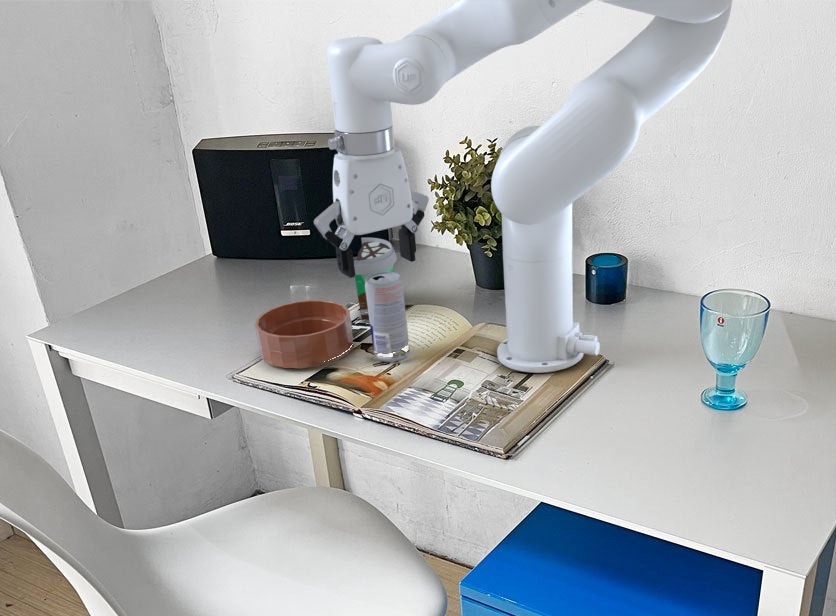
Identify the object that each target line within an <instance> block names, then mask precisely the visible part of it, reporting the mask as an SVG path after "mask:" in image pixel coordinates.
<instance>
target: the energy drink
mask: <svg viewBox="0 0 836 616" xmlns="http://www.w3.org/2000/svg"><path fill="white" fill-rule="evenodd" d="M365 291H366V298H367V306H368V314H369V319H368V320H369V327H370V335H371V336H370V337H371V343H372V344H371V345H372V352H373V356H374V358H375V359H376V360H378V361H380V362H383V363H394V362H395V363H396V362H399V361H402V360H403V361H404V360H405V359H406V358H407V357H408V356H409V355H410V352H411V349H410V347H409V350H408V351H407V352H406V353H404V354H401V355H398V356H393V357H383V356H378V355H376V354H375V353H374V351H376V352H378V353H382V354H389V353H393V352H396V351H399V350H400V349H402V348H404V347H405V346H407V345H408V342H409V343H410V341H409V331H408V322H407V311H406V302H405V295H404V285H403V281H402V278H401V275H400V274H399V273H397V272H394V271H393V272H379V273H374V274H371V275H369V276H368V277H367V278H366V283H365ZM373 350H374V351H373Z"/></svg>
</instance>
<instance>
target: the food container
mask: <svg viewBox="0 0 836 616" xmlns="http://www.w3.org/2000/svg"><path fill="white" fill-rule="evenodd" d="M397 259H398V257H397V254H396V251H395V249H394V247H393V245H392V243H391V242H390V241H388V240H386V239H383V238H378V237H361V247H360V250H359V251H357V256H356V260H354V267H355V276H354V280H355V287H356V293H357V300H358V307H359V313H360V318H361V320H369V314H368V313H365V312H368V306H367V298H366V291H365V283H366V278H367V277H368V276H369V275H371V274H374V273H379V272H394V264H395V263H396V262H397ZM361 313H362V314H361Z"/></svg>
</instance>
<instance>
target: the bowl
mask: <svg viewBox="0 0 836 616" xmlns="http://www.w3.org/2000/svg"><path fill="white" fill-rule="evenodd" d="M351 317H352V316H351V311H350V309H349V308H348V307H347V306H346V305H345V304H343V303H339V302H337V301H331V300H326V299H306V300H297V301H292V302H288V303H283V304H280V305H278V306H275V307H271V308H269V309H268V310H266V311H264V312H263V313H261V314H259V316H258V317H257V318H255V322H254V329H255V335H256V339H257V344H258V350H259V354H260V357H261V358H262V360H263V361H264V362H265V363H267V364H269V365H271V366H273V367H278V368H284V369H304V368H305V369H306V368H314V367H318V366H322V365H326V364H330V363H332V362H335V361H337V360H339V359H342V358H343V357H345V356H346V355H348V354H349V353H351V352H352V350H353V348H354V347H355V343H354V344H353V339H354V333H353V325H352V319H351ZM354 340H355V339H354ZM352 344H353V345H352ZM351 345H352V347H351V348H350V346H351ZM349 348H350V350H348V349H349ZM346 350H348V351H347V352H345V351H346ZM343 352H345V353H344V354H342V353H343ZM341 354H342V355H341ZM339 355H341V356H339ZM337 356H339V357H337ZM334 357H336V358H334ZM332 358H334V359H332ZM330 359H331V360H330ZM328 360H329V361H328ZM324 361H325V362H324Z"/></svg>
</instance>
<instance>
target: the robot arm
mask: <svg viewBox="0 0 836 616" xmlns="http://www.w3.org/2000/svg"><path fill="white" fill-rule="evenodd" d="M593 1H594V0H458V1H455V3H453V4H451V5H450V6H448V7H447V8H445V9H444V10H442V11H441V12H440V13H438V14H436V15H435V16H433V17H432V18H430V19H428V20H427V21H425V22H424V23H423V24H421V25H419V26H418V27H416V28H415V29H413V30H412V31H411V32H409V33H407V34H406V35H405V36H404V37H402V38H401V39H399V40H396V41H395V42H388V43H387V42H386V43H384V42H382V41H381V40H380V39H378V38H375V37H368V36H355V37H353V36H352V37H345V38H339V39H337V40H334V41H332V42H330V43H329V45H328V47H327V50H326V60H327V61H326V62H327V70H328V71H327V72H328V80H329V87H330V96H331V97H330V98H331V104H332V111H333V119H334V121H333V122H334V127H335V128H334V131H333V132H334V136H333V137H332V138H328V139H327V147H328V148H329V150H330V151H331V150H336V152H337V153H335V154H334V157H333V166H332V200H333V202H332V204H331V205H329V206H328V207H327V208H326V209H325V210H323V211H322V212H321V213H320V214H319V215H318V216H316V217H315V218H314V220H313V225H314V226H315V227H316V229H317V230H318V232H319V233H320V234H321V237H322V238H323V239H324V240H326V241H327V242H329V243H330V244H331V245H332V246H334V247H335V253H336V255H335V256H336V262H337V268H338V270H339V271H340V272H341V274H343V275H344V276H347V277H348V278H350V279H352V278H355V267H354V261H355V258H354V252H353V249H352V248H350V245H351V243H352V241H353V239H354V238H355V236H362V235H368V234H371V233H375V232H379V231H385V230H388V229H392V228H396V227H400V228H399V229H398V231H397V234H398V244H399V255H400V257H401V258H403V259H404V260H406V261H409V262H411V263H413V262H415V261H416V252H417V242H416V234H417V232H418V231H419V225H420V223H421V222H422V221H423V219H424V217H425V211H426V210H427V207H428V204H429V200H430V197H429V196H428V195H425V194H423V193H422V192H418V191H415V190H412V189H411V186H410V179H409V175H408V170H407V166H406V164H405V163H406V162H405V159H404V156H403V152H402V149H401V148H400V147H398V146H395V137H394V136H395V134H394V125H393V114H392V113H393V112H392V103H395V104H400V105H409V106H410V105H411V106H417V105H423V104H424V103H427V102H429V101H431V100H432V99H433V98H434V97H435V96H436V95H437V94H438V93H439V91H441V89H442V87H443V86H444V85H445V84H447V82H449V81H451V80H452V79H453V78H454V77H456V76H458V75H459V74H461V73H462V72H465V71H466V70H467V69H469V68H470V67H472V66H474V65H475V64H477V63H478V62H480V61H482V60H483V59H484V58H486V57H488V56H490V55H492V54H494V53H496V52H497V51H500V50H502V49H504V48H507V47H511V46H518V45H521V44H524V43H526V42H528V41H530V40H532V39H534V38H536V37H537V36H539V35H540V34H542V33H543V32H545V31H546V30H548V29H549V28H552V27H553V26H554V25H556V24H557V23H559V22H560V21H562V20H564V19H565V18H567V17H569V16H570V15H572V14H574V13H575V12H577V11H578V10H580V9H582V8H583V7H585V6H587V5H588V4H590V3H591V2H593ZM598 1H599V2H603V3H605V4H608V5H612V6H616V7H618V8H621V9H622V8H623V9H625V10H626V9H627V10H630V11H635V12H640V13H643V14H646V15H651V16H653V19H652V20H651V21H650V22H649V23H648V24H647V26H646V27H645V28H644V29H642V30H641V31H640V32H639V33H638V34H637V35H636V36H635V37H633V38H632V39H631V40H630V42H628V43H627V44H626V45H625V46H624V47H623V48H622V49H621V50H619V51H618V52H617V53H615V54H614V55H613V56H612V57H611V58H610V59H609V60H607V61H606V62H605V63H604V64H602V65H600V67H599V68H597V69H596V70H594V72H592V73H590V74H589V75H588V76H587V77H585V78H584V79H582V80H581V81H580V82H578V83H577V84H576V85H575V86H574V87H573V88H572V90H571V91H570V92H569V95H568V97H567V98H566V101H565V104H564V105H563V106H562V107H561V108H560V109H558V110H557V112H555V113H554V114H553V115H552V116H551V117H549V118H548V119H547V120H546V121H545V122H544V123H542V124H541V125H530V126H526V127H523V128H521V129H520V130H517V132H515V133H514V134H512V135H511V136H510V137H509V138H508V140H507V141H506V142H505V144H504V145H503V147H502V149H501V151H500V153H499V156H498V158H497V160H496V163H495V166H494V169H493V172H492V175H491V181H490V188H491V189H490V191H491V196H492V200H493V202H494V205H495V207H496V208H497V210H498V211H499V212H500V214H501V236H502V237H501V238H502V240H501V241H502V265H503V266H502V267H503V283H504V285H503V287H504V305H505V325H506V327H505V328H506V338H505V339H504V340H502V341H501V342H500V343H499V344H498V346H497V349H496V356H497V360H498V361H499V362H500V363H501V364H502V365H503V366H504V367H507V368H508V369H511V370H514V371H517V372H523V373H532V374H533V373H535V374H540V373H543V374H544V373H552V372H558V371H562V370H565V369H568V368H570V367H572V366H574V365H576V364H577V363H578V362H580V361H581V360H582V359H583V358H584V355H588V356H589V355H590V356H595V357H596V356H598V355H599V353H600V350H601V344H600V341H598V336H597V335H593V334H583V332H581V331H580V322H576V321H574V315H573V314H574V306H573V305H574V301H573V300H574V299H573V296H574V294H573V291H574V289H573V203H574V202H575V201H576V200H578V199H579V198H580V197H582V196H583V195H584V194H585V193H587V192H588V191H589V190H591V189H592V188H594V186H596V185H598V183H599V182H601V181H602V180H604V178H606V177H607V176H608V175H610V174H611V173H612V172H613V171H615V169H617V168H618V167H620V165H621V164H622V163H624V162H625V160H626V159H627V158H628V157H629V156H630V154H631V153H632V152H633V150H634V147H635V146H636V145H637V142H638V139H639V137H640V131H641V127H642V126H643V125H644V124H645V123H646V122H647V121H648V120H649V119H650V118H651V117H653V116H654V115H655V114H656V113H658V112H659V111H660V110H661V109H662V108H664V107H665V106H666V105H667V104H668V103H669V102H670V101H672V99H674V98H675V97H676V96H678V95H679V94H680V93H681V92H682V91H683V90H684V89H686V87H688V86H689V85H690V84H691V83H692V82H694V80H695V79H696V78H697V77H698V76H699V75H700V74H701V73H702V72H703V71H704V70H705V68H706V67H707V66H708V64H709V63H710V62H711V61H712V59H713V57H714V56H715V54H716V52H717V51H718V49H719V47H720V45H721V42H722V40H723V38H724V36H725V33H726V29H727V27H728V24H729V20H730V16H731V12H732V5H733V1H734V0H598ZM413 202H414V205H413ZM334 220H335V221H336V225H337V228H336V230H335V232H333V231H332V229H331V227H330V224H331V222H333V221H334Z"/></svg>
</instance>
